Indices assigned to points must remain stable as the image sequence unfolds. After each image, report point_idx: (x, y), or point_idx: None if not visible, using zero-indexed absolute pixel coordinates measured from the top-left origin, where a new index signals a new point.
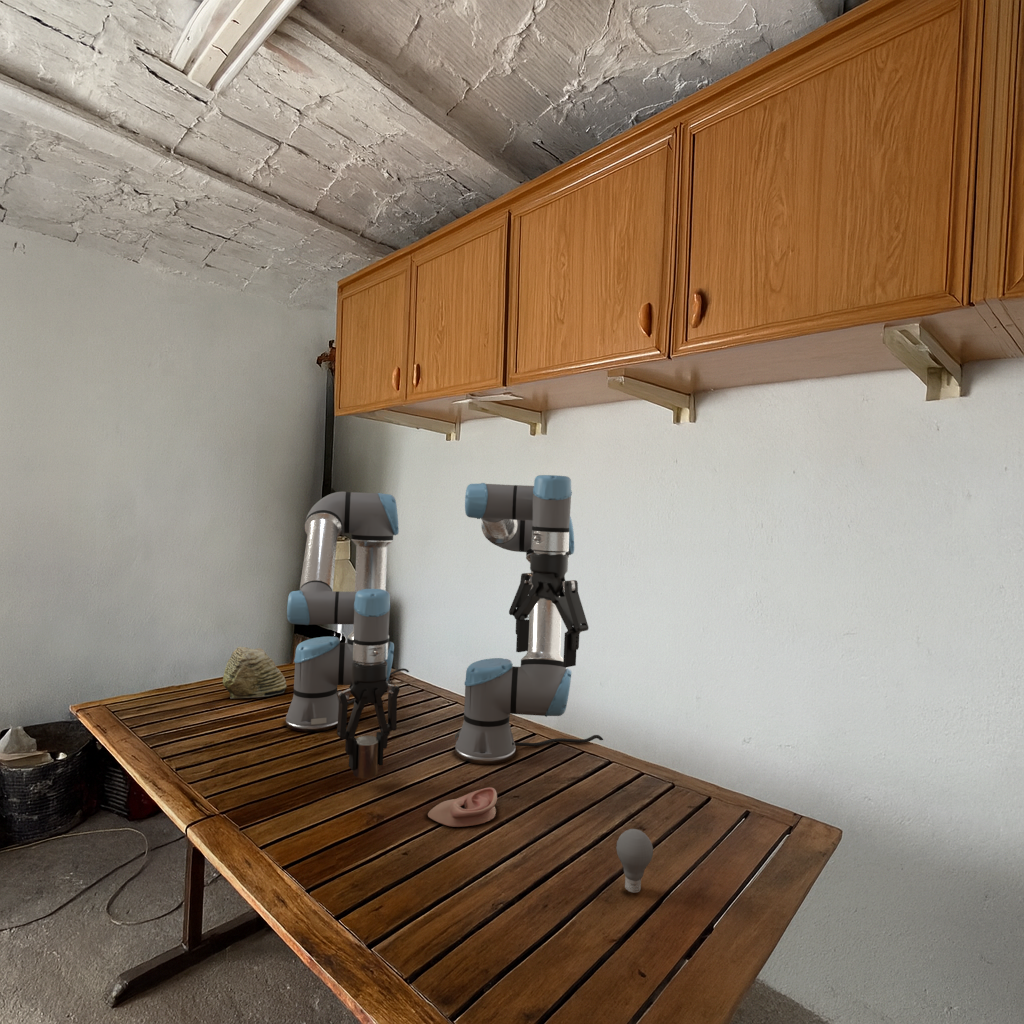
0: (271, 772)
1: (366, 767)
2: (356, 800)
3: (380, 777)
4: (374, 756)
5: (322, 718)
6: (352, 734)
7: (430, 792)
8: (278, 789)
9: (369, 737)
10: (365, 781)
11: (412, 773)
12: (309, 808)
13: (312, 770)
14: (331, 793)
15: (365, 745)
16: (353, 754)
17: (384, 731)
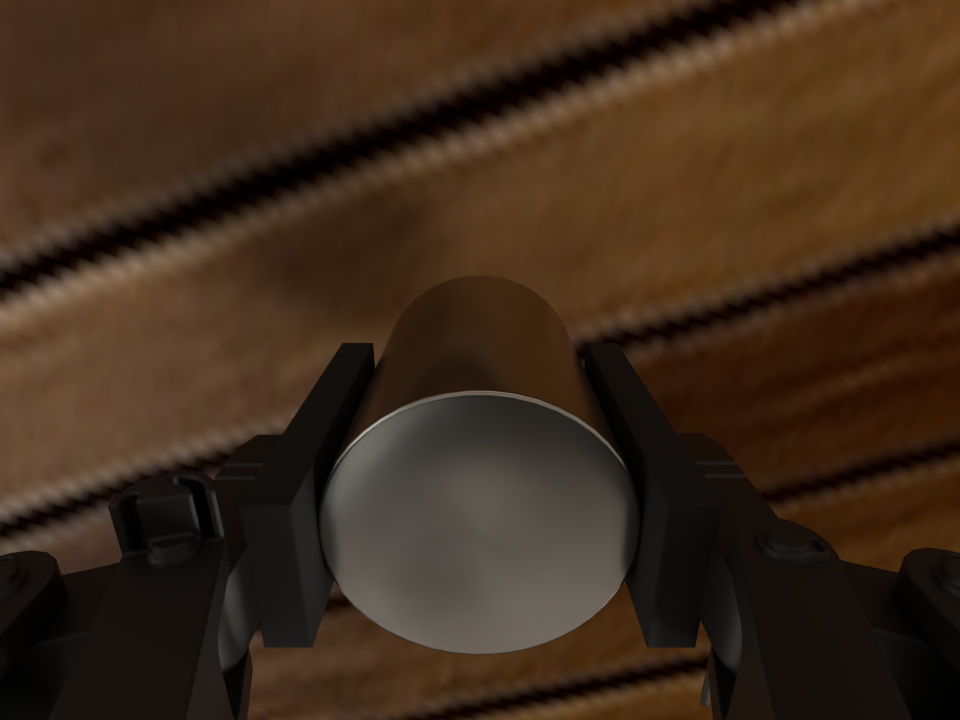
0: None
1: (511, 304)
2: (599, 164)
3: None
4: (427, 339)
5: None
6: (795, 589)
7: (51, 33)
8: (923, 498)
9: (421, 597)
10: None
11: (138, 379)
12: (910, 192)
13: None
14: (699, 332)
15: (554, 404)
16: (657, 406)
17: (196, 561)
